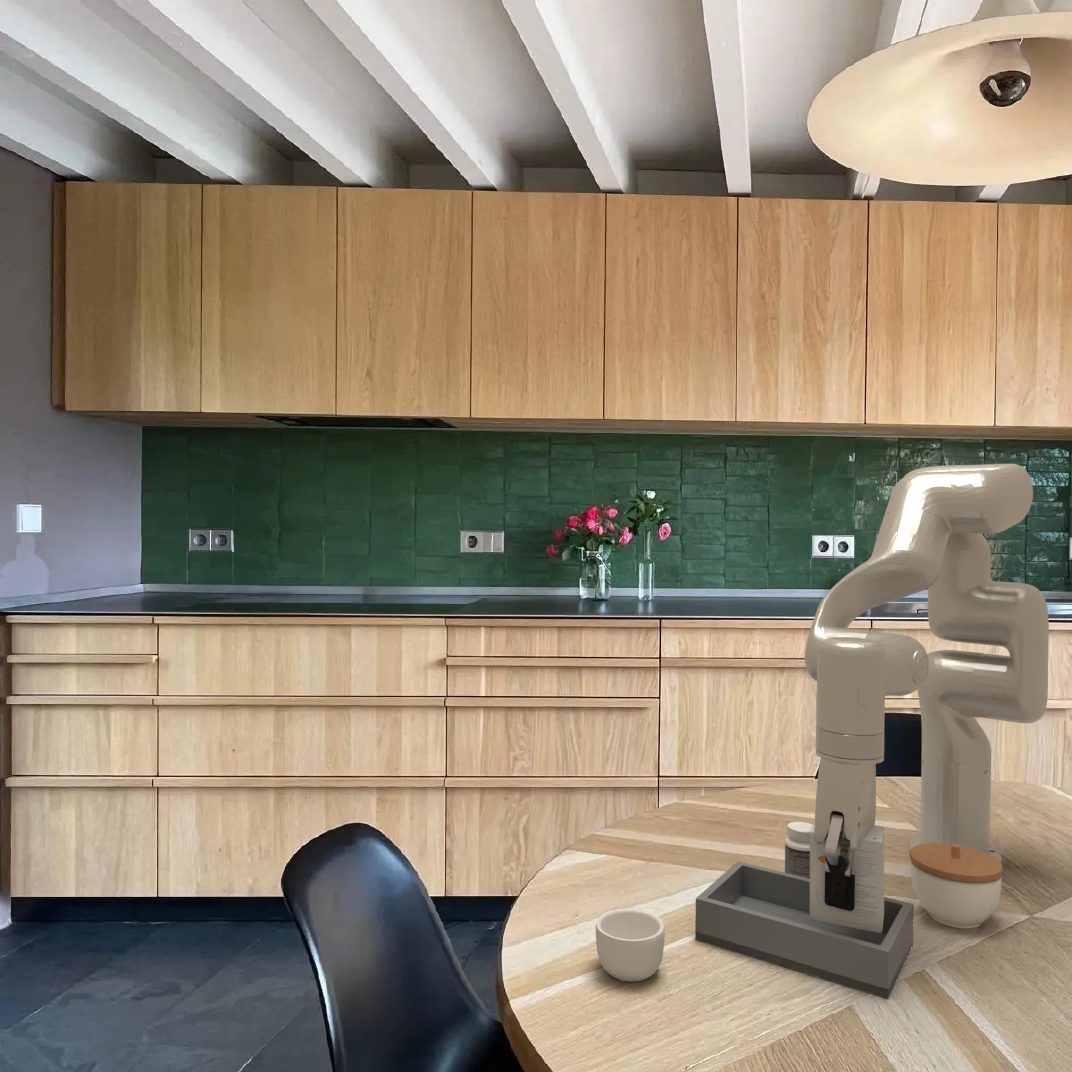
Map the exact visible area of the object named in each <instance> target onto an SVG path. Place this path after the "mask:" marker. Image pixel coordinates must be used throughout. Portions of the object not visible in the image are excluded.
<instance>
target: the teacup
mask: <svg viewBox="0 0 1072 1072" xmlns="http://www.w3.org/2000/svg"><path fill="white" fill-rule="evenodd" d="M665 935H666V931H665V923H664V922H663V920H662V919H661V917H659V916H658V915H656V914H655V913H652V912H650V911H647V910H643V909H639V908H638V909H637V908H616V909H612V910H608V911H606V912H603V913H602V914H601V915H599V916H598V918H597V919H596V922H595V940H596V942H595V943H596V951H597V955H598V960H599V962H600V964H601V966H602V968H604V970H605V971H606V972H607V973H608V974H609V975H610V976H612V977H613V978H615V979H616V980H619V981H622V982H626V983H627V982H628V983H635V982H636V983H637V982H642V981H644V980H646V979H648V978H650V977H651V976H652V975H654V974H655V973H656V972H657V970H658V969H659V967H660V966H661V964H662V961H663V956H664V949H665V938H666V937H665Z"/></svg>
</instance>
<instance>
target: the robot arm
mask: <svg viewBox="0 0 1072 1072" xmlns="http://www.w3.org/2000/svg"><path fill="white" fill-rule="evenodd" d="M1033 498H1034V489H1033V483H1032V480H1031V476H1030V475H1029V472H1028V471H1027V470H1026V469H1025V468H1024V467H1023V466H1022V465H1019V464H1017V463H989V464H988V463H987V464H985V463H984V464H955V465H954V464H951V465H936V466H928V467H927V466H926V467H921V468H916V469H914V470H911V471H909V472H908V473H906V474H905V475H904V476H903V478H901V479H900V480H898V482H897V483H896V484H895V485H894V487H893V489H892V491H891V494H890V497H889V500H888V504H887V506H886V509H885V512H884V515H883V518H882V522H881V524H880V528H879V531H878V534H877V537H876V540H875V543H874V547H873V551H872V554H871V556H870V558H869V559H868V560H866V561H865V562H863V563H861V564H860V565H859V566H857V567H855V568H854V569H853V570H852V571H850V572H848V573H847V574H846V575H845V576H844V577H842V578H841V579H840V580H839V581H838V582H836V584H835V585H834V586H833V587H832V588H830V589H829V591H828V592H827V593H826V594H825V595H824V596H823V598H822V599H821V601H820V603H819V604H818V607H817V610H816V612H815V615H814V618H813V620H812V624H811V627H810V629H809V633H808V635H807V639H806V644H805V649H804V662H805V663H804V664H805V665H804V666H805V668H806V671H807V672H808V675H809V676H810V678H812V679H813V680H814V681H816V706H815V707H816V711H815V712H816V713H815V715H816V717H815V755H816V756H818V757H819V758H820V760H819V761H820V762H819V768H818V775H817V782H816V783H817V784H816V794H815V796H816V797H815V809H814V811H815V812H814V821H815V825H814V840H815V841H816V843H817V844H821V843H823V842H824V841H825V840H826V839H827V842H826V846H825V856H826V858H825V904H826V905H828V906H832V907H836V908H840V909H844V910H847V911H853V909H854V908H855V875H852V868H853V859H854V851H855V850H857V849H859V848H860V847H861V843H862V840H863V838H864V837H865V835H866V834H867V833H868V832H869V830H870V829H871V827H872V826H876V824H875V823H876V815H877V813H876V812H877V811H876V810H877V778H876V777H877V776H876V775H877V772H876V770H877V768H876V765H877V764H880V763H883V762H884V761H885V712H886V711H885V708H886V706H885V703H886V700H885V698H886V697H890V696H891V697H894V696H895V697H901V696H907V695H911V694H913V693H914V692H916V691H917V696H918V701H919V709H920V717H921V719H920V720H921V768H920V770H921V775H920V778H921V781H920V782H921V783H920V785H921V787H920V835H918V836H916V837H914V838H912V839H911V840H910V841H909V845H908V846H909V848H908V849H909V851H910V850H911V849H912V848H913V847H915V846H917V845H920V844H927V843H945V844H956V845H960V846H964V847H968V848H972V849H975V850H978V851H981V852H984V853H986V854H988V855H990V856H992V857H994V858H995V859H997V860H998V861H999V862H1000V863H1001V864H1002V862H1003V861H1002V859H1003V858H1002V856H1001V854H1000V853H999V852H998V851H996V850H995V849H994V848H992V847H991V795H992V793H991V792H992V791H991V789H992V787H991V786H992V785H991V783H992V746H991V743H990V740H989V737H988V735H987V733H986V732H985V730H984V729H983V728H982V726H981V725H980V723H979V722H978V720H977V719H976V718H983V719H989V720H990V719H991V720H998V721H1002V722H1003V721H1004V722H1010V723H1018V724H1033V723H1037V722H1038V721H1039V720H1041V719H1042V717H1044V715H1045V712H1046V708H1047V705H1048V699H1049V698H1048V697H1049V640H1050V639H1049V636H1050V635H1049V631H1050V630H1049V629H1050V627H1049V625H1050V624H1049V611H1048V604H1047V601H1046V599H1045V596H1044V594H1043V593H1042V591H1040V589H1038V587H1036V586H1034V585H1032V584H1028V583H1024V582H1012V581H1010V582H1009V581H994V580H993V579H992V577H991V548H990V544H989V543H988V541H987V539H986V538H985V536H984V535H985V534H987V535H990V534H997V533H1001V532H1004V531H1006V530H1008V529H1009V528H1012V527H1013V526H1016V525H1018V524H1019V523H1021V522H1022V521H1023V520H1024V519H1025V517H1026V516H1027V514H1029V511H1030V509H1031V507H1032V503H1033ZM925 590H927V617H928V618H927V619H928V626H929V629H930V632H932V634H933V635H934V636H935V637H937V638H938V639H941V640H945V641H950V642H955V643H956V642H957V643H963V644H964V643H967V644H975V645H985V646H995V647H1002V648H1005V649H1006V650H1007V652H1008V653H1009V655H1000V654H993V653H992V654H991V653H983V652H975V651H965V650H956V649H955V650H954V649H951V650H950V649H942V650H935V651H931V652H929V653H928V652H927V651H926V649H925V647H924V645H923V644H922V643H921V642H920V641H918V640H917V639H916V638H914V637H912V636H909V635H906V634H901V633H895V632H887V631H886V632H885V631H875V630H869V629H868V630H865V629H858V628H857V629H856V628H848V627H850V625H851V624H852V622H854V621H855V619H857V618H858V617H860V616H861V615H863V614H864V613H865V612H867V611H870V610H871V609H873V608H875V607H879V606H881V605H884V604H887V603H891V602H894V601H897V600H900V599H904V598H906V597H909V596H913V595H914V594H918V593H920V592H923V591H925ZM828 831H829V833H828ZM827 833H828V837H826V835H827ZM825 837H826V838H825ZM841 840H843V841H848V842H849V846H843V845H840V844H841ZM840 851H843V852H847V857H846V862H845V859H844V857H843V856H840Z"/></svg>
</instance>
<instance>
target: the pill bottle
mask: <svg viewBox="0 0 1072 1072" xmlns="http://www.w3.org/2000/svg"><path fill="white" fill-rule="evenodd" d="M812 826H813V824H812V823H809V822H804V821H793V822H789V823H788V824H787V827H786V828H787V831H786V833H787V837H786V838H785V840H784V872H785V873H789V874H793V875H797V876H801V877H805V878H809V879H810V831H811V829H812Z"/></svg>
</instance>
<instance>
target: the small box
mask: <svg viewBox="0 0 1072 1072" xmlns="http://www.w3.org/2000/svg"><path fill="white" fill-rule="evenodd" d="M812 825H813V826H812V829H811V831H810V920H813V921H818V922H824V923H829V924H834V925H839V926H844V927H850V928H855V929H860V930H865V931H871V932H876V933H882V930H883V919H884V897H885V828H884V826H881V825H879V826H878V825H874V826H872V827H871V829H870V830H869V832H868V833H867V834H866V835H865V837H864V838H863V840H862V843H861V847H860V848H859V849H857V850H855V851H854V859H853V868H852V875H855V908H854V909H853V911H847V910H844V909H840V908H836V907H832V906H828V905H826V904H825V858H826V856H825V846H826V842H827V839H826V840H825V841H824V842H823V843H821V844H817V843H816V841H815V840H814V825H815V820H814V822H813V824H812ZM828 833H829V831H828ZM828 833H827V835H826V837H828ZM826 837H825V838H826ZM840 845H843V846H849V842H848V841H843V840H841V844H840ZM840 856H843V857H844V859H845V862H846V857H847V852H843V851H840Z"/></svg>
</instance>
